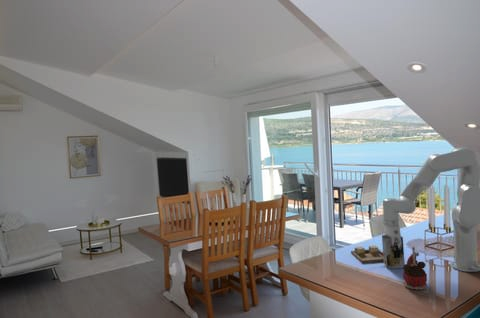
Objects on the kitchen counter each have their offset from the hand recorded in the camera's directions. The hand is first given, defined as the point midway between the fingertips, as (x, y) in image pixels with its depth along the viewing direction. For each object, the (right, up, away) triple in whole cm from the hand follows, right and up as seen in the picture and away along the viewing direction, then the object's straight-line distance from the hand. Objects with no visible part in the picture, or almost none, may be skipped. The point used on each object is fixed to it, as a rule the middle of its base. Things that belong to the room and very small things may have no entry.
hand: (392, 254), depth 190 cm
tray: (-7, -6, +14) cm, 17 cm away
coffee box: (+1, -6, 0) cm, 6 cm away
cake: (-1, -8, -26) cm, 27 cm away
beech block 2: (-3, -5, +20) cm, 20 cm away
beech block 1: (-11, -5, +19) cm, 23 cm away
